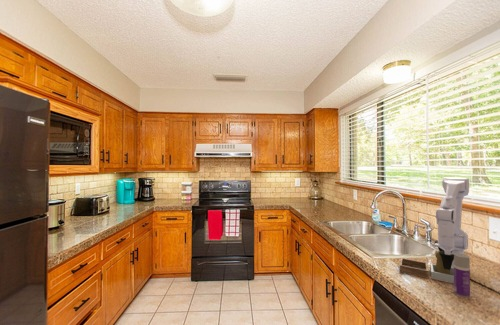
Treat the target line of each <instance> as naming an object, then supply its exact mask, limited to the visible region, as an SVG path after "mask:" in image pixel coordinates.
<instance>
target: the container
mask: <svg viewBox="0 0 500 325" xmlns="http://www.w3.org/2000/svg"><path fill="white" fill-rule="evenodd" d="M470 267H471V263H470V256H468V255H467V254H465V253H464V254H458V253H456V254H454V275H453V276H454V283H453V293H454V295H456V296H458V297H462V298H470V297H471V271H470V270H471V268H470Z"/></svg>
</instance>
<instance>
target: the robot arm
mask: <svg viewBox="0 0 500 325" xmlns="http://www.w3.org/2000/svg"><path fill="white" fill-rule="evenodd" d="M441 182H442V184H441V185H442V189H443V190H444V193H445V196H444V197H443V198H442V199H441V201H440V205H439V208H437V209H436V210H435V217H436V218H435V219H436V225H437V243H434V246H435V247H437V249H438V251H439V254H440V256H441V258H442V262H443V267H444V269H448V270H450V269H451V267H452V268H454V254H456V253H458V254H464V255H465V251H467V250H468V249H469V236H468V233H466V232H465V231H464V230H463V229H462V215H463V214H462V212H463V200H464V197H466V196H469V193H470V179H469V178H468V177H447V176H444V177H443V178H442V181H441ZM440 251H442V252H440Z"/></svg>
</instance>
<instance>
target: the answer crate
mask: <svg viewBox="0 0 500 325" xmlns="http://www.w3.org/2000/svg"><path fill="white" fill-rule="evenodd" d="M429 264H430V265H429V267H430V268H429V269H430V270H429V272H430V276H431V277H430V278H431V279H433V280H435V281H440V282H445V283H446V282H447V283H450V284H454V268H452V267H451V269H450V273H451V275H448V274H443V273H438V272H435V267H436V263H429Z"/></svg>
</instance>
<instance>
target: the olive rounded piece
mask: <svg viewBox="0 0 500 325" xmlns="http://www.w3.org/2000/svg"><path fill="white" fill-rule="evenodd" d="M440 252H442V251H440ZM434 255H435V258H436V261H435V264H436V267H435V271H434V272H438V273H443V274H448V275H451V273H450V270H448V269H444V267H443V262H442V258H441V256H440V254H439V250H437V251H436V252H435V254H434Z"/></svg>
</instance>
